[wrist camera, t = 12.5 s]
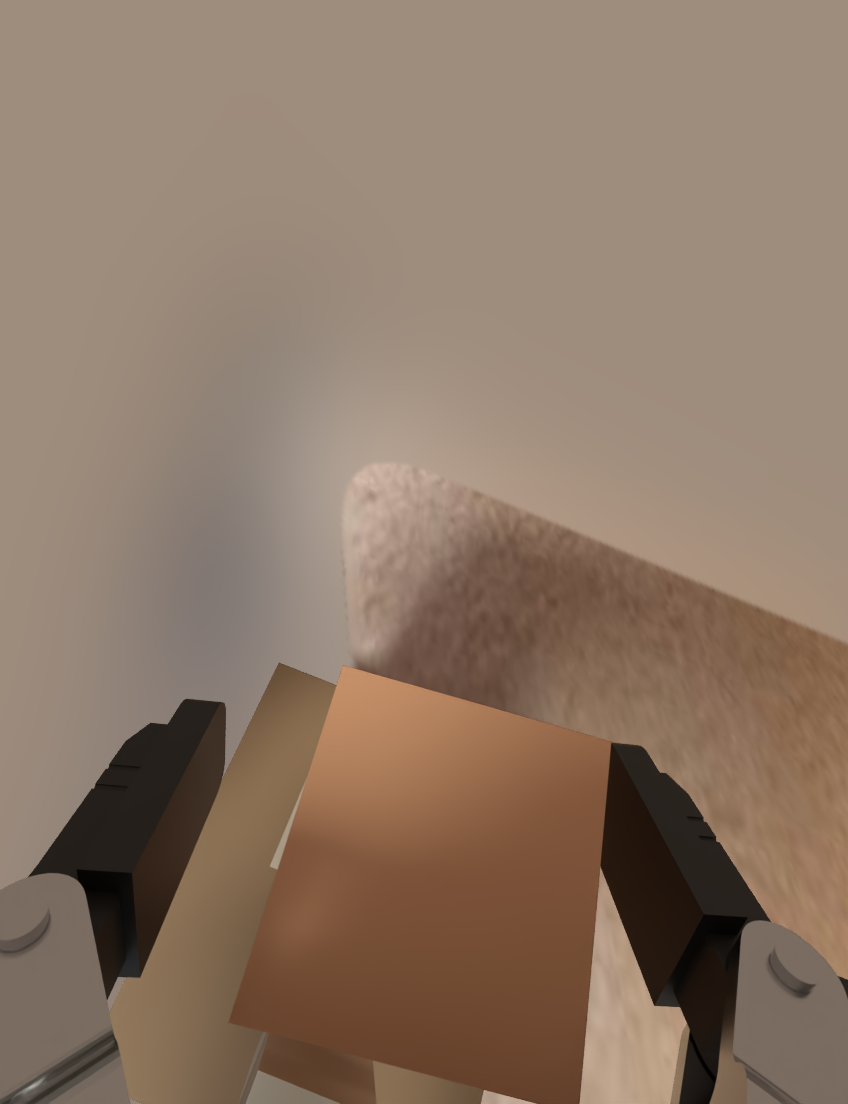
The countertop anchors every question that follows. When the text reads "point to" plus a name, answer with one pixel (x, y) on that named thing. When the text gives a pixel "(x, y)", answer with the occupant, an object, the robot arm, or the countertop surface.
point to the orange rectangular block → (438, 893)
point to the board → (244, 945)
